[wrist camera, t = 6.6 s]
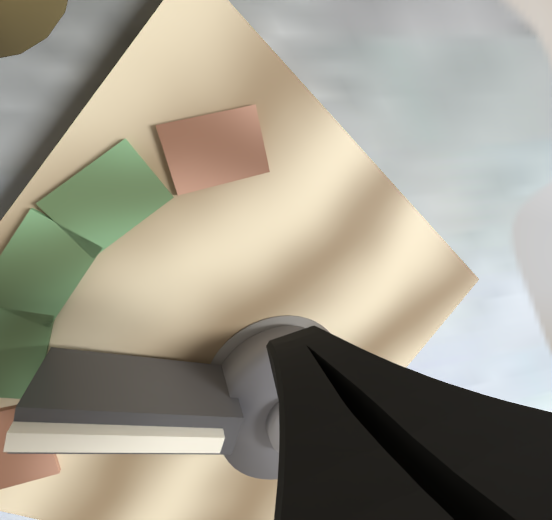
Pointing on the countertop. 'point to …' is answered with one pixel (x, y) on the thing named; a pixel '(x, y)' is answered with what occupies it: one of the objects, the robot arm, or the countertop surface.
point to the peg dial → (154, 406)
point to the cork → (27, 23)
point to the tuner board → (201, 252)
